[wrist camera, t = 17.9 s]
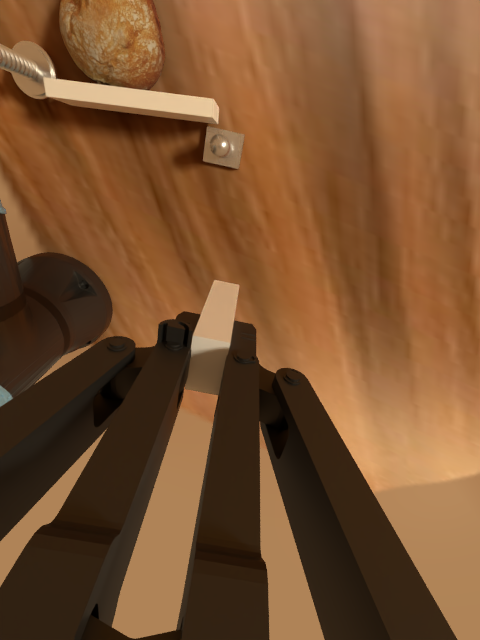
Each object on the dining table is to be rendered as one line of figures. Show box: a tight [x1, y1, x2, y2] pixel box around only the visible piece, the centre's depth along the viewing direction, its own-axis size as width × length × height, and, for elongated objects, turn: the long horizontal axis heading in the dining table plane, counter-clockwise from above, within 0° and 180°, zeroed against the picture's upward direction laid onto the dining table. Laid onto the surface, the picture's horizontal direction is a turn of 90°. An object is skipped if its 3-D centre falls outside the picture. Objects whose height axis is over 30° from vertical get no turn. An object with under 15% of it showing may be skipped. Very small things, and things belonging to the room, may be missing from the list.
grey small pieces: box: [203, 126, 245, 169], centre depth 28 cm, size 4×26×5 cm, turn 169°
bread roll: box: [59, 0, 165, 90], centre depth 29 cm, size 10×10×8 cm
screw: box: [0, 41, 57, 100], centre depth 27 cm, size 13×5×5 cm
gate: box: [43, 77, 219, 124], centre depth 31 cm, size 2×17×5 cm, turn 83°
